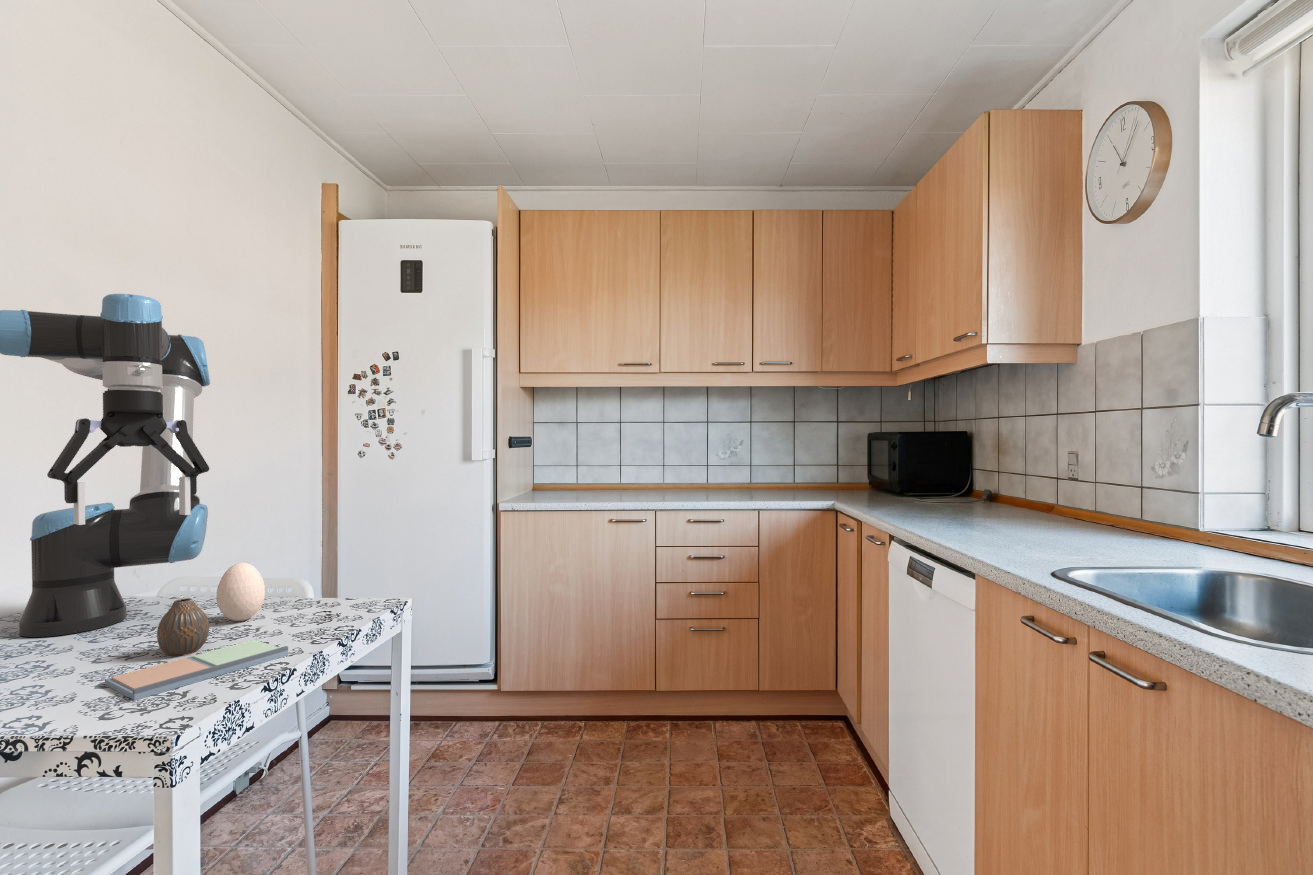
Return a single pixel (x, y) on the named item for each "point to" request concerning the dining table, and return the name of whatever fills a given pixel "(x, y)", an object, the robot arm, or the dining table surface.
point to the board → (193, 669)
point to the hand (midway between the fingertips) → (135, 519)
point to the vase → (182, 628)
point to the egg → (240, 592)
